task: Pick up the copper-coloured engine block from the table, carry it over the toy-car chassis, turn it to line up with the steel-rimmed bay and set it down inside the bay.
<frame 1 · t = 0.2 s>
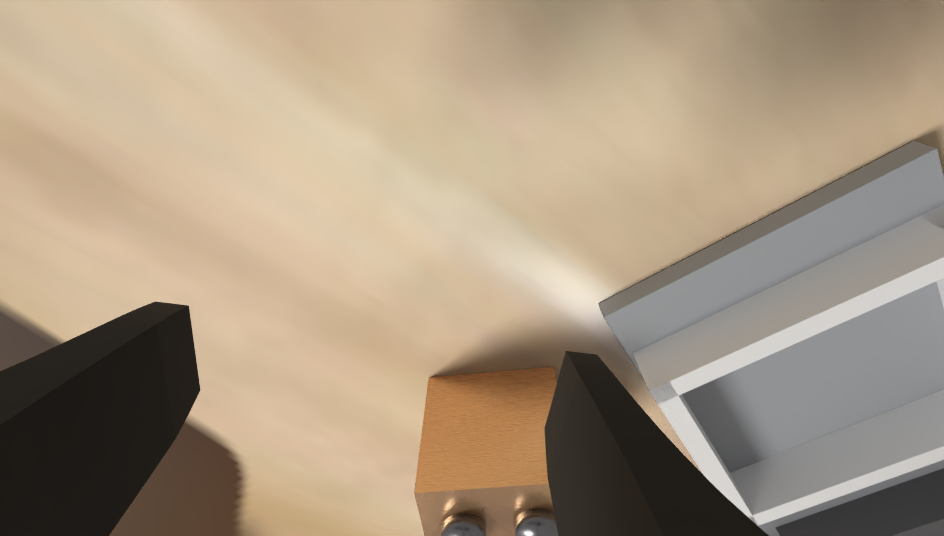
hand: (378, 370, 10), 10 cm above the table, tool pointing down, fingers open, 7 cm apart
chassis: (826, 413, 23), on the table
engine block: (495, 405, 23), on the table
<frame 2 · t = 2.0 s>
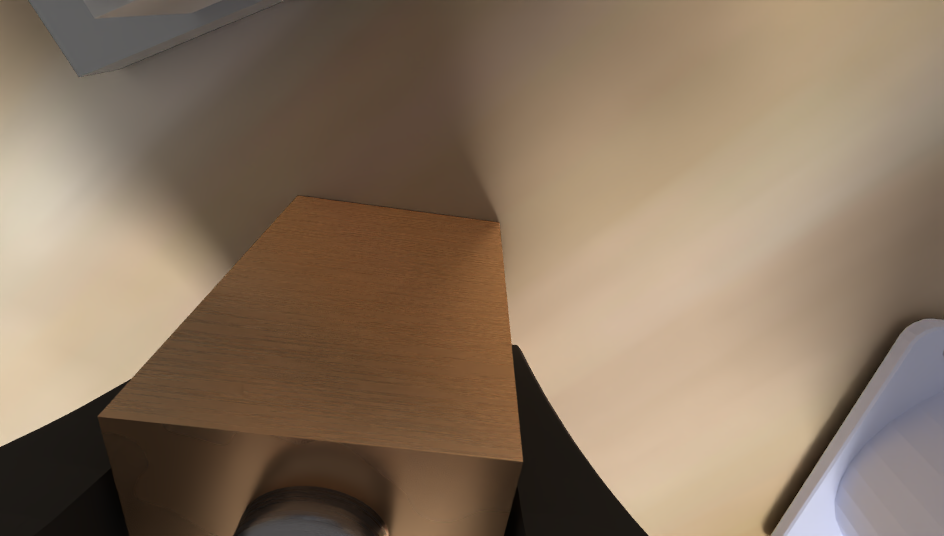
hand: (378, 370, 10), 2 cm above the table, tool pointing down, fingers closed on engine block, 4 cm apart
engine block: (390, 323, 11), on the table, touching gripper
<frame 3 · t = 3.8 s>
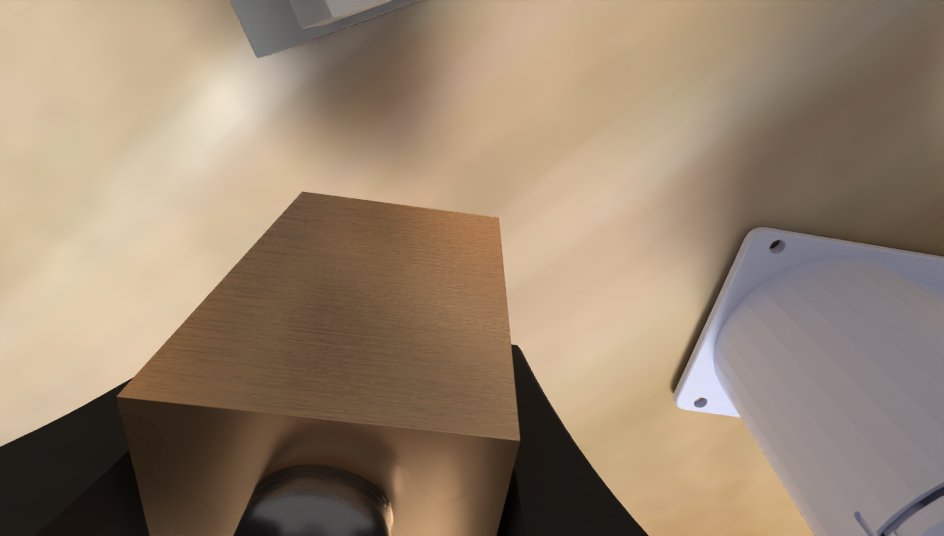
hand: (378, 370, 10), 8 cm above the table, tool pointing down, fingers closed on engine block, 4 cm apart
engine block: (392, 317, 12), point 7 cm above the table, touching gripper
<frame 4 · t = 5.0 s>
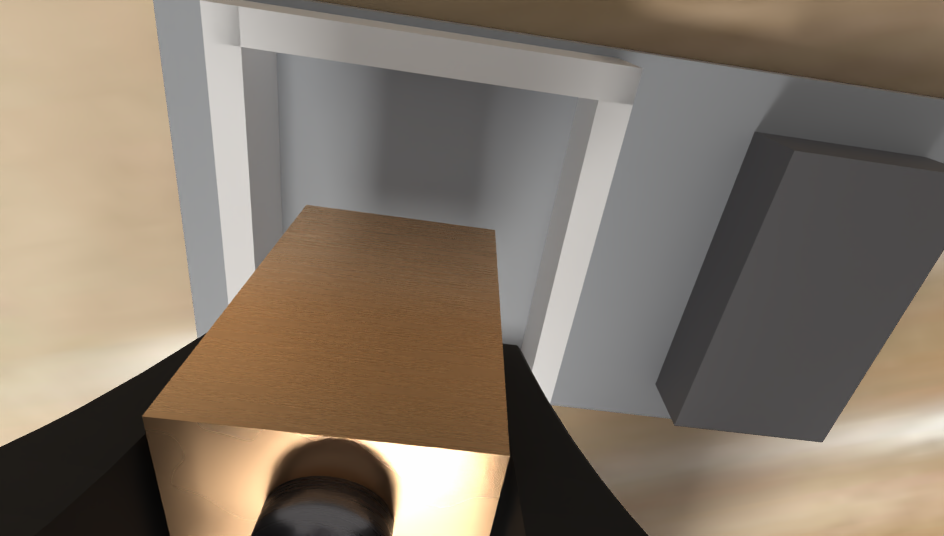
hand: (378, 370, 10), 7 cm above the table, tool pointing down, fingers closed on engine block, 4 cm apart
chassis: (539, 240, 17), on the table
engine block: (393, 323, 12), point 5 cm above the table, touching gripper
when the fingers open (5 cm above the table, at t = 5.9 s): engine block drops 1 cm, resting on chassis.
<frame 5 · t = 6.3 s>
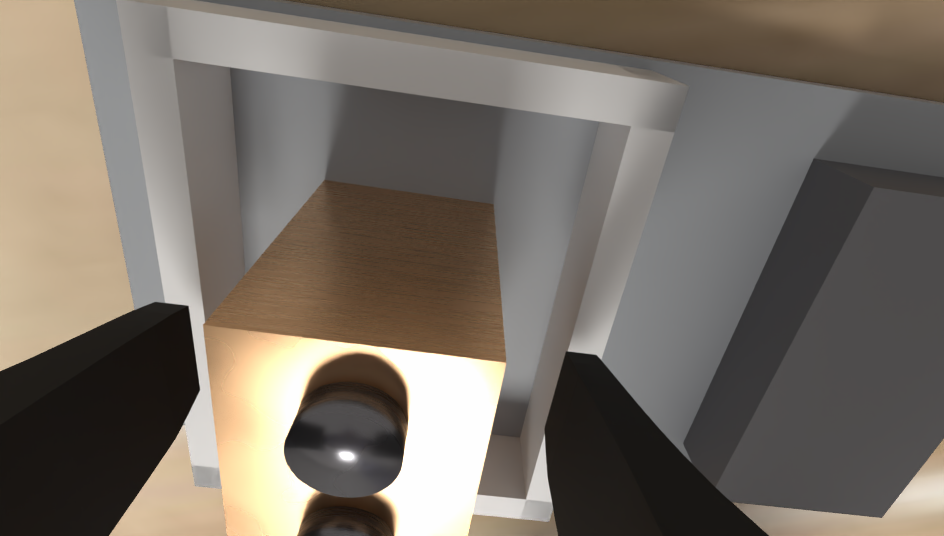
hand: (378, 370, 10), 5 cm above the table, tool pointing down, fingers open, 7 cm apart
chassis: (550, 280, 14), on the table
engine block: (400, 291, 13), point 1 cm above the table, touching chassis
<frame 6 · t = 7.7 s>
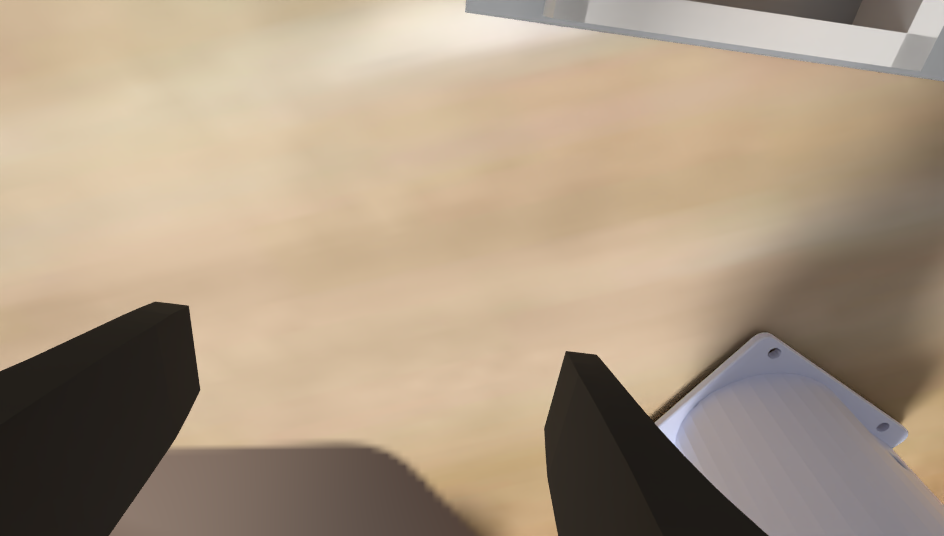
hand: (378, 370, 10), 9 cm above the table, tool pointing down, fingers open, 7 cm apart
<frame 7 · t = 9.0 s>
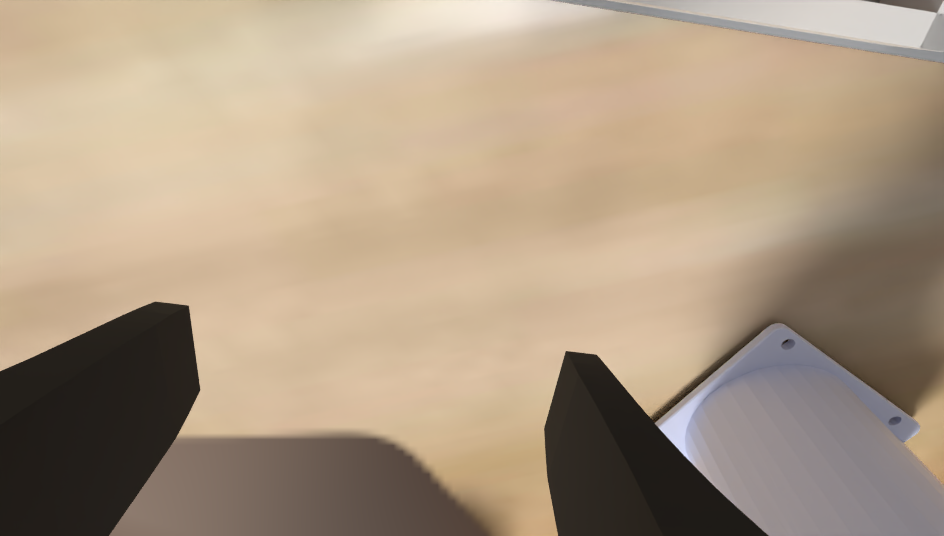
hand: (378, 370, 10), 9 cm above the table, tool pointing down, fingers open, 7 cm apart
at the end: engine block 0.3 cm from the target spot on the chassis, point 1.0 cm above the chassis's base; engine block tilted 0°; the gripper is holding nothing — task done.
